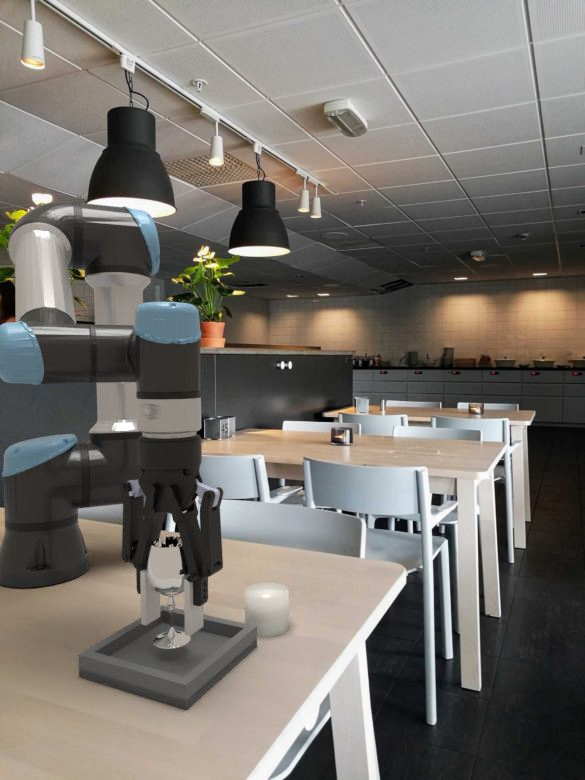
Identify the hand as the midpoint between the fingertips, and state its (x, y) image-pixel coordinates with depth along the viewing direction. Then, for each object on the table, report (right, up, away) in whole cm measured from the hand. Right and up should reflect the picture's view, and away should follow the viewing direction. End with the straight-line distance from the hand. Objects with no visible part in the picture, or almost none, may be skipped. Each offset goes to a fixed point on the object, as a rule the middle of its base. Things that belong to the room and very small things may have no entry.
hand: (172, 624), depth 70 cm
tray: (0, -4, 0) cm, 4 cm away
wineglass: (0, -2, 0) cm, 2 cm away
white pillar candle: (+11, -4, +9) cm, 15 cm away
